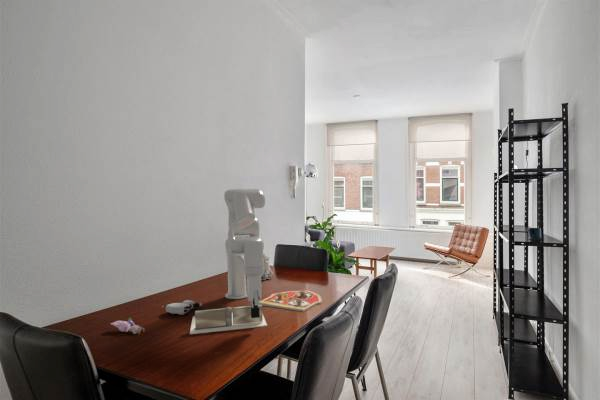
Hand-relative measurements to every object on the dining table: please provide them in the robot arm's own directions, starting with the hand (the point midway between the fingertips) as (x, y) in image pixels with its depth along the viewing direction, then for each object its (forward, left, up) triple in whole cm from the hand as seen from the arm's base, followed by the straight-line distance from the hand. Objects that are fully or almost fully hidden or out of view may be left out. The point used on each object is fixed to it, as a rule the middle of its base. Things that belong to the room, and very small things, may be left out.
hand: (255, 317), depth 139 cm
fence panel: (-7, -2, -4) cm, 9 cm away
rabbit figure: (-13, -50, -6) cm, 52 cm away
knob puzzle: (-35, +24, -6) cm, 43 cm away
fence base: (-7, -16, -5) cm, 18 cm away
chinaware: (-87, +12, -6) cm, 88 cm away
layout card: (-13, -10, -5) cm, 17 cm away
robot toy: (-33, -30, -6) cm, 45 cm away
